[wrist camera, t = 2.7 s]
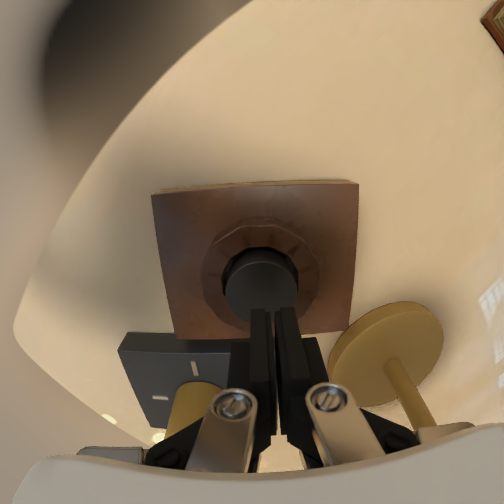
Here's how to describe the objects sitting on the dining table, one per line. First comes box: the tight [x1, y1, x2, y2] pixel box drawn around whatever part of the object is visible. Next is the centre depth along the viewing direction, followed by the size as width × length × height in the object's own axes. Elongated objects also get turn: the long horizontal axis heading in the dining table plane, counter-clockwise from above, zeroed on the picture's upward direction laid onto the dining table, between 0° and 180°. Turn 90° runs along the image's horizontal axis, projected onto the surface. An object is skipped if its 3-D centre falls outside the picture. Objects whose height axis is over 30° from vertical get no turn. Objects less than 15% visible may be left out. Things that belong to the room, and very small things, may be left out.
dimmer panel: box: [117, 332, 278, 430], centre depth 22 cm, size 12×10×3 cm
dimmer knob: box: [164, 382, 222, 439], centre depth 18 cm, size 4×4×5 cm
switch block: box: [151, 180, 359, 339], centre depth 17 cm, size 12×10×4 cm
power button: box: [225, 250, 297, 323], centre depth 15 cm, size 4×4×2 cm
